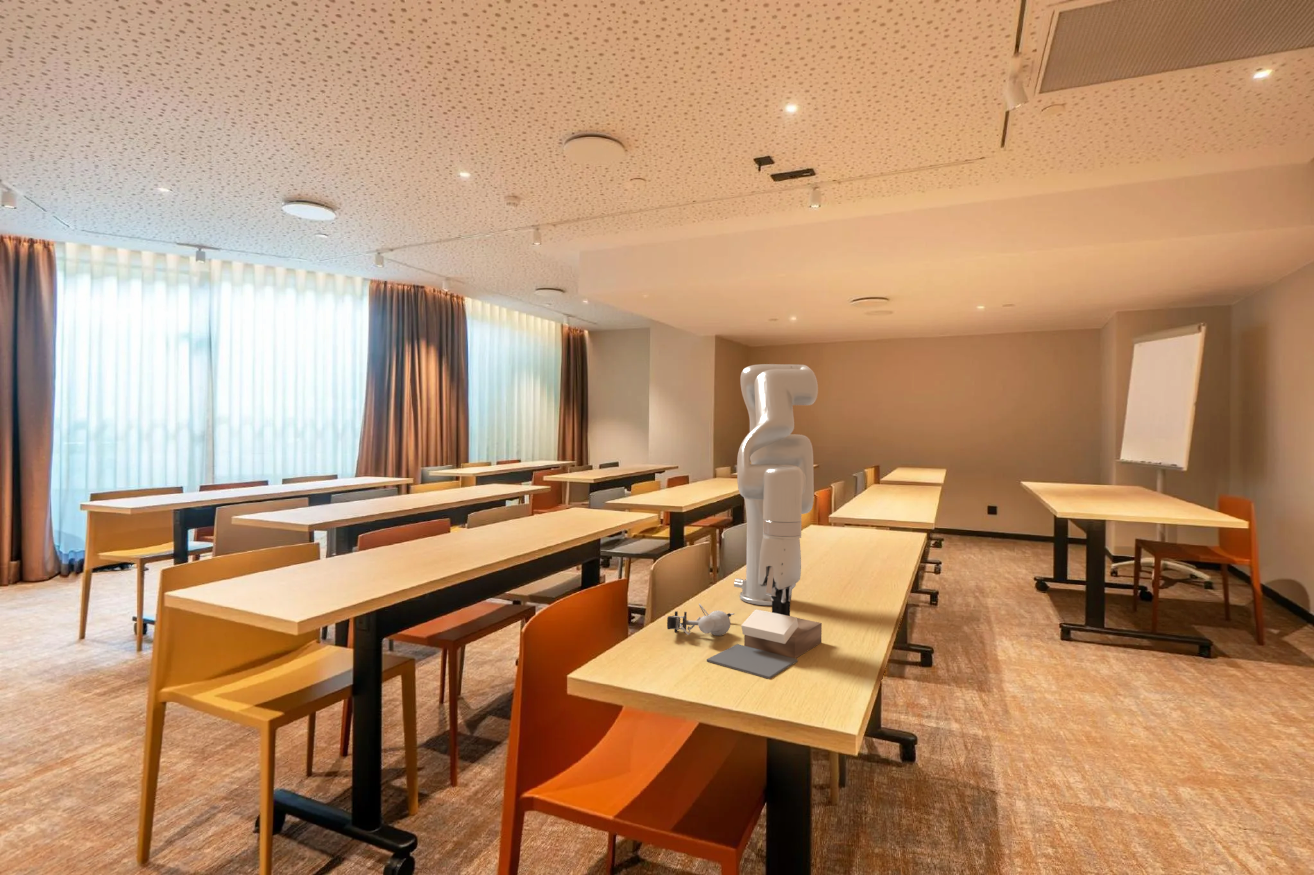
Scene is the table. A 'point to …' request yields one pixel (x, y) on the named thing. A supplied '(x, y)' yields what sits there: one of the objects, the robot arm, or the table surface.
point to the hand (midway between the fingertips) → (780, 620)
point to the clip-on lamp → (702, 622)
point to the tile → (770, 626)
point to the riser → (790, 640)
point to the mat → (752, 661)
